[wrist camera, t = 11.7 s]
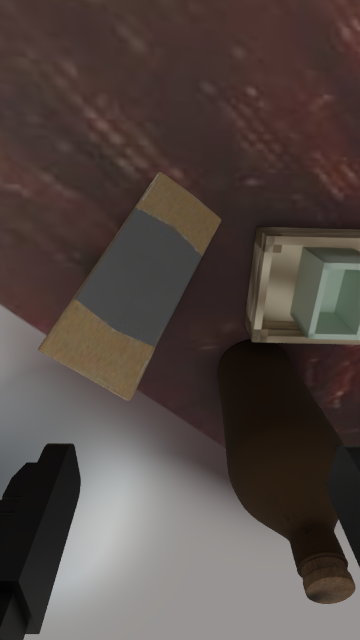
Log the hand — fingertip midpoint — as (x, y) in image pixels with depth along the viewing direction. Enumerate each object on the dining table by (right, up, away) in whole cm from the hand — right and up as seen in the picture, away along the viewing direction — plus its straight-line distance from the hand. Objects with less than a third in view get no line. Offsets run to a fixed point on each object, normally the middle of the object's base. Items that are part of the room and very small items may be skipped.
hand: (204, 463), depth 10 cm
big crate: (+15, +9, +28) cm, 33 cm away
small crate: (+15, +9, +28) cm, 33 cm away
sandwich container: (-4, +12, +27) cm, 30 cm away
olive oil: (+9, -2, +34) cm, 35 cm away
